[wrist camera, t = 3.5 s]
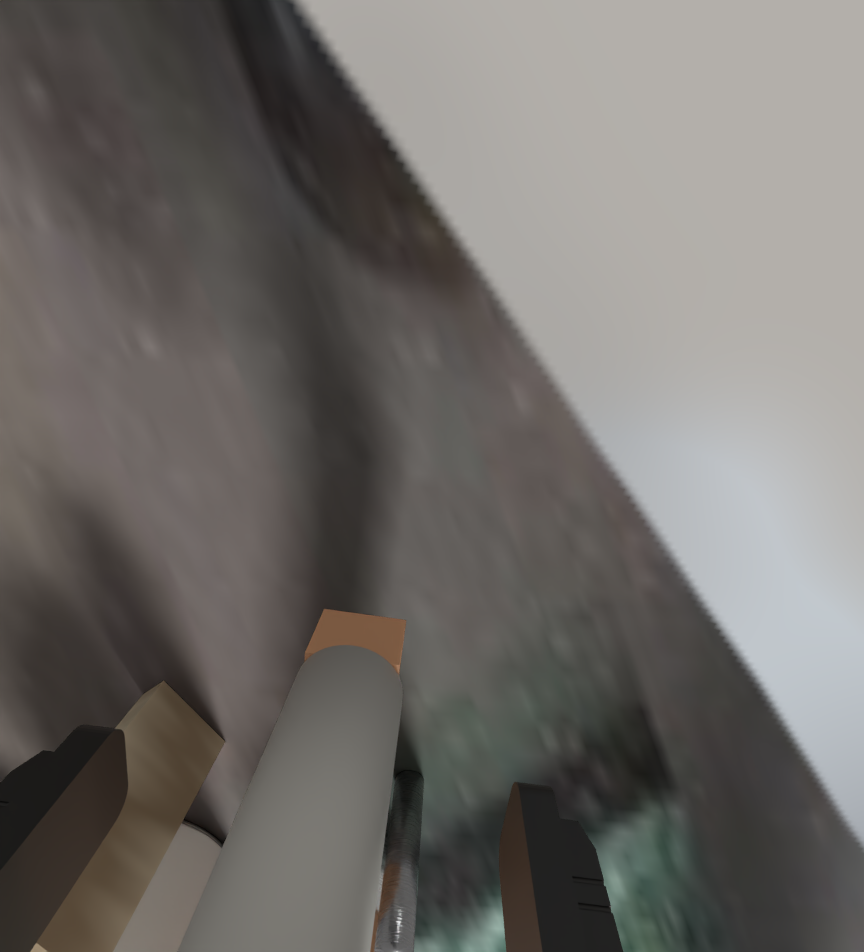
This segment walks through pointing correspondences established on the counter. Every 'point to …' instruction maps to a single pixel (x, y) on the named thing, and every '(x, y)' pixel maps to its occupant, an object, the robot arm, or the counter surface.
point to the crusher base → (400, 867)
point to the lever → (314, 805)
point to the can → (172, 893)
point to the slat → (137, 821)
